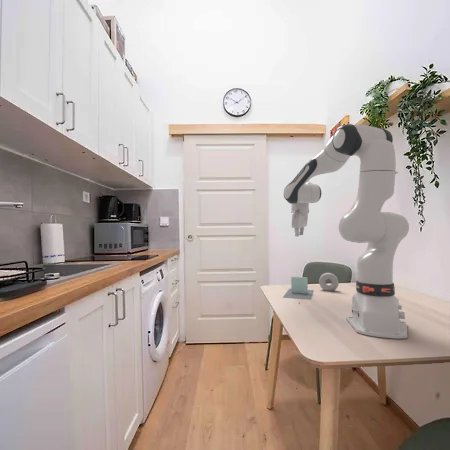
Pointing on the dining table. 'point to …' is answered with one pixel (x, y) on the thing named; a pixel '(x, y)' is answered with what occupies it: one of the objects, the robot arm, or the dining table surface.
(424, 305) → the dining table surface
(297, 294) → the mat
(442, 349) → the dining table surface
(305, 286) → the tile
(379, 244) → the robot arm
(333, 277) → the donut
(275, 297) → the dining table surface
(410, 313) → the dining table surface
